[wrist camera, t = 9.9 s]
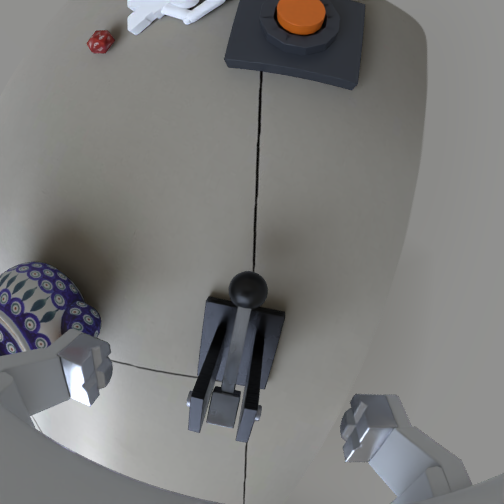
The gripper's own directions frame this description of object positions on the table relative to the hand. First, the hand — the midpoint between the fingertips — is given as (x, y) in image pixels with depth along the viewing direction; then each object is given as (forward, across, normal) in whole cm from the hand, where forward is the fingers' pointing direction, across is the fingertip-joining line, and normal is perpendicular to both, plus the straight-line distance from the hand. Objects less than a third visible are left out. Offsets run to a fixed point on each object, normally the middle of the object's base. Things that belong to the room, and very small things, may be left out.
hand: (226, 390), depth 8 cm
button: (+17, 0, -21) cm, 27 cm away
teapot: (+20, +25, +13) cm, 35 cm away
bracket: (+20, +1, +12) cm, 23 cm away
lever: (+14, +1, +8) cm, 16 cm away
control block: (+20, 0, -21) cm, 29 cm away
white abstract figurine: (+20, +13, -26) cm, 35 cm away
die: (+20, +21, -20) cm, 35 cm away
